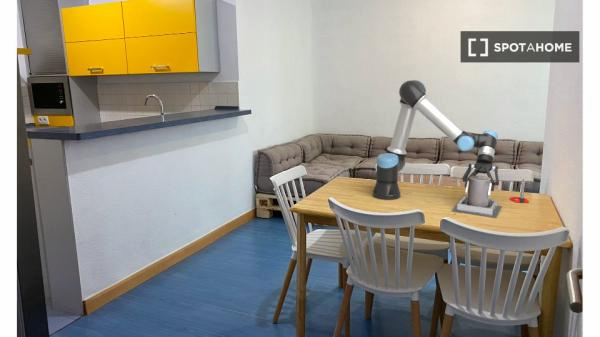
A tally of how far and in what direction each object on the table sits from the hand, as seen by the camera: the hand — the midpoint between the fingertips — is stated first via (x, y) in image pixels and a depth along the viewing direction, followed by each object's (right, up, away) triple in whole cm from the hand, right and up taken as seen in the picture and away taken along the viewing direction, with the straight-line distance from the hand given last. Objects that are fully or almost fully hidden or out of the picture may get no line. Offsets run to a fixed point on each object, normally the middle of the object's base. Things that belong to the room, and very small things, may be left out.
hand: (477, 194), depth 199 cm
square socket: (+2, -8, +4) cm, 9 cm away
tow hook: (+30, -5, +18) cm, 35 cm away
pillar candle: (+2, -5, +4) cm, 7 cm away
